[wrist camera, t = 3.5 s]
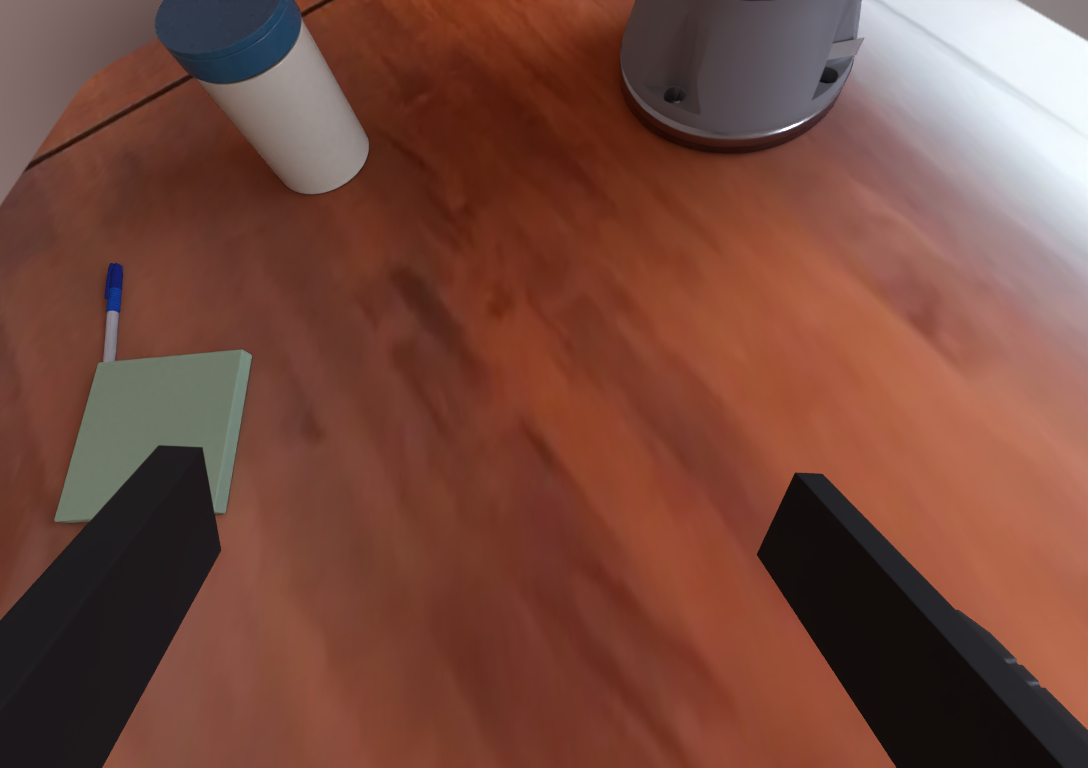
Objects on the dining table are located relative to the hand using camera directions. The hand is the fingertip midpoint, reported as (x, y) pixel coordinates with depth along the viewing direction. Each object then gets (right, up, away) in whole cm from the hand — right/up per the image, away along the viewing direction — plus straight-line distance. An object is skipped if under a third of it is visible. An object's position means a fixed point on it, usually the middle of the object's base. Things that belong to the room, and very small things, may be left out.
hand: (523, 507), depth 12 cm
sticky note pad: (-23, 0, +20) cm, 31 cm away
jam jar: (-16, +20, +27) cm, 37 cm away
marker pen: (-29, +6, +24) cm, 38 cm away
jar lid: (-17, +24, +17) cm, 34 cm away
